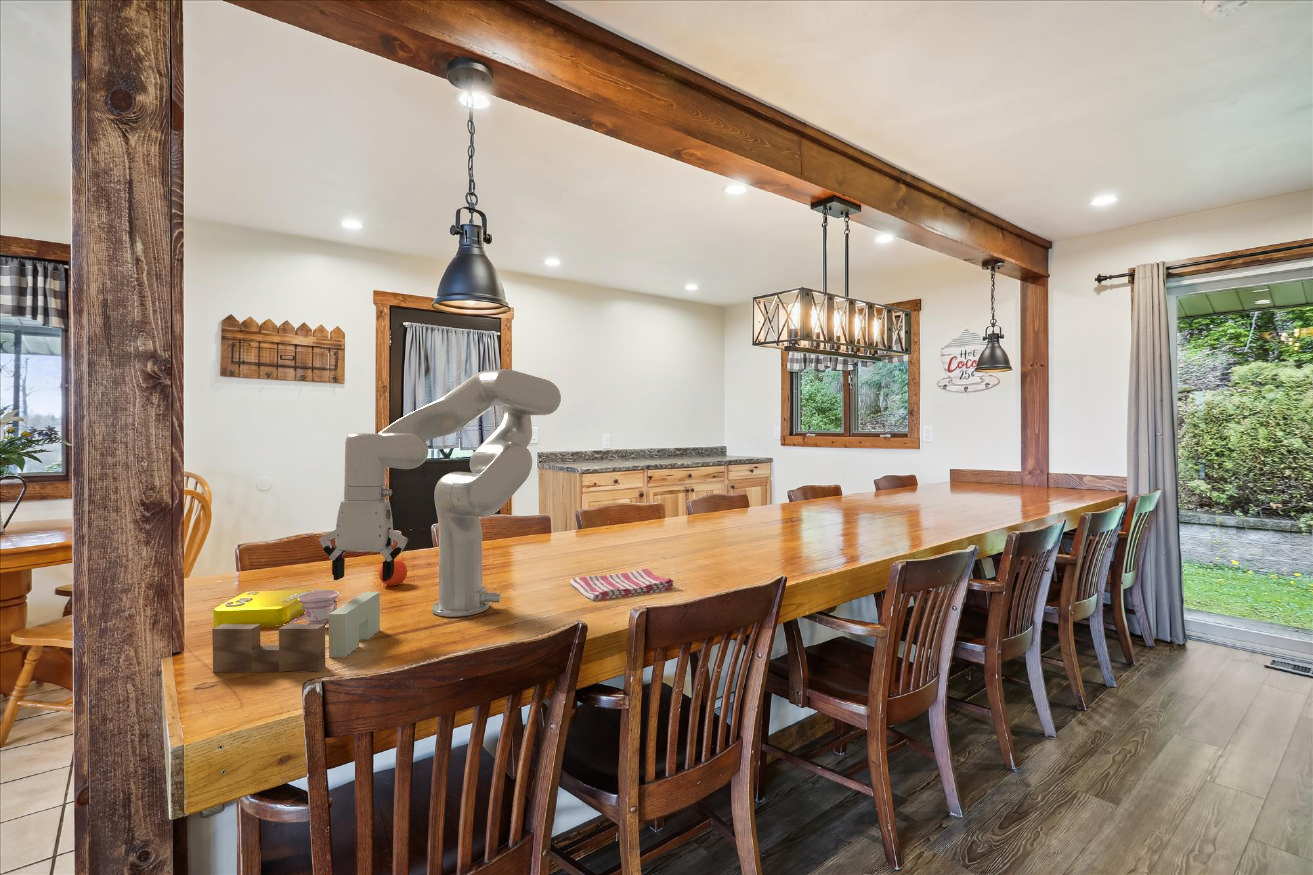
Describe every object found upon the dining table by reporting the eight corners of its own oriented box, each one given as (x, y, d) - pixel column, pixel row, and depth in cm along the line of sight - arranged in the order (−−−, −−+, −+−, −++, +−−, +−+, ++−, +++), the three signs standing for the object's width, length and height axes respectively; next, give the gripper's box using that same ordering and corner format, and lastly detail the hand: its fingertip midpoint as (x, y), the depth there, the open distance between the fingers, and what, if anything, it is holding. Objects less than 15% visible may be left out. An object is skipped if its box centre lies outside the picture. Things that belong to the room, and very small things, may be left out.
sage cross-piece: (379, 630, 131) (379, 591, 131) (345, 657, 116) (345, 613, 116) (365, 630, 131) (364, 591, 131) (329, 657, 116) (328, 614, 116)
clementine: (399, 589, 162) (399, 562, 162) (372, 589, 162) (372, 562, 162) (411, 582, 170) (411, 555, 170) (385, 582, 170) (385, 555, 170)
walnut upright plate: (325, 666, 112) (325, 624, 111) (318, 671, 109) (317, 628, 109) (222, 666, 111) (221, 624, 111) (212, 672, 109) (212, 628, 109)
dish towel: (675, 591, 163) (675, 578, 163) (591, 603, 152) (591, 589, 152) (645, 577, 178) (645, 564, 178) (567, 587, 167) (567, 574, 167)
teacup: (274, 628, 133) (273, 599, 132) (321, 612, 144) (321, 585, 144) (317, 635, 129) (317, 604, 128) (363, 617, 140) (363, 590, 140)
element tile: (286, 628, 134) (285, 605, 133) (208, 631, 132) (208, 608, 131) (314, 607, 148) (314, 587, 148) (245, 609, 146) (245, 589, 146)
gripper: (414, 493, 131) (413, 576, 131) (330, 492, 131) (329, 574, 131) (400, 497, 124) (398, 584, 124) (311, 495, 124) (309, 582, 124)
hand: (363, 579), depth 128 cm, fingers open, 9 cm apart
